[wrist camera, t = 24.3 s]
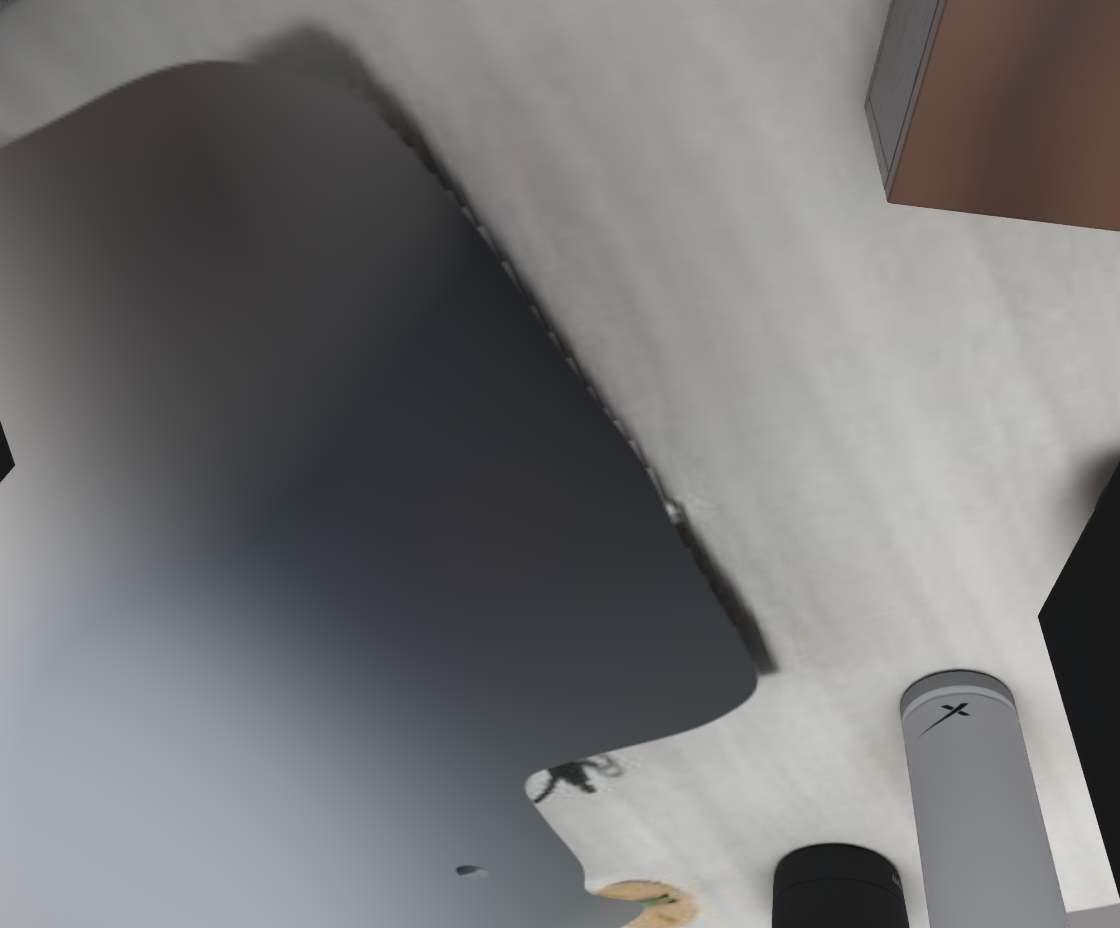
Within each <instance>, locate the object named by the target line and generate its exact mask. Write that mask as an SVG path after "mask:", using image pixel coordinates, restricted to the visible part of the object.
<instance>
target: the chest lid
mask: <svg viewBox="0 0 1120 928" xmlns="http://www.w3.org/2000/svg"><path fill="white" fill-rule="evenodd" d="M885 194H886V198H887V202H888V203H893V204H901V205H909V206H917V207H926V208H934V209H942V210H950V211H958V212H966V213H974V214H982V215H990V216H998V217H1006V218H1015V219H1023V220H1031V221H1039V222H1047V223H1055V224H1063V225H1071V226H1079V227H1087V228H1095V229H1104V230H1112V231H1120V0H939V3H938V7H937V10H936V14H935V17H934V21H933V24H932V27H931V31H930V34H929V38H928V41H927V45H926V48H925V52H924V55H923V59H922V62H921V66H920V69H919V73H918V76H917V80H916V83H915V87H914V90H913V94H912V97H911V101H910V104H909V108H908V111H907V115H906V118H905V122H904V125H903V129H902V132H901V136H900V139H899V143H898V146H897V150H896V153H895V157H894V160H893V164H892V167H891V171H890V174H889V178H888V181H887V185H886V188H885Z"/></svg>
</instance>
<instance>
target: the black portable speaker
mask: <svg viewBox="0 0 1120 928" xmlns="http://www.w3.org/2000/svg"><path fill="white" fill-rule="evenodd" d="M772 928H909V922H908V916H907V911H906V905H905V900H904V894H903V889H902V884H901V880H900V877H899V875H898V873H897V871H896V870H895V869H894V868H893V867H892V866H891V865H890V864H889V863H888V862H887V861H886V860H885V859H883V858H882V857H880V856H878V855H877V854H875V853H872V852H870V851H867V850H864V849H861V848H856V847H851V846H844V845H821V846H814V847H809V848H805V849H802V850H799V851H797V852H795V853H793V854H791V855H789V856H788V857H787V858H785V859H784V860H783V862H782V863H781V864H780V865H779V866H778V868H777V869H776V872H775V874H774V884H773V909H772Z"/></svg>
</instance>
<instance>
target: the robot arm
mask: <svg viewBox="0 0 1120 928" xmlns="http://www.w3.org/2000/svg"><path fill="white" fill-rule="evenodd" d="M7 1H9V0H0V6H1V5H3V4H4V3H6V2H7ZM14 466H15V463H14V460H13V457H12V455H11V452H10V449H9V446H8V443H7V440H6V437H5V434H4V431H3V428H2V425H1V422H0V482H1V481H2V480H3V479H4V478H5V476H6V475H7V474H8V473H9V472H10V470H11V469H12V468H13V467H14ZM1038 619H1039V622H1040V625H1041V629H1042V632H1043V636H1044V639H1045V643H1046V646H1047V650H1048V653H1049V656H1050V660H1051V663H1052V667H1053V670H1054V674H1055V677H1056V681H1057V684H1058V687H1059V691H1060V694H1061V698H1062V701H1063V705H1064V708H1065V712H1066V715H1067V718H1068V722H1069V725H1070V729H1071V732H1072V736H1073V739H1074V743H1075V746H1076V749H1077V753H1078V756H1079V760H1080V763H1081V767H1082V770H1083V774H1084V777H1085V780H1086V784H1087V787H1088V791H1089V794H1090V798H1091V801H1092V804H1093V808H1094V811H1095V815H1096V818H1097V822H1098V825H1099V829H1100V832H1101V835H1102V839H1103V842H1104V846H1105V849H1106V853H1107V856H1108V860H1109V863H1110V866H1111V870H1112V873H1113V877H1114V880H1115V884H1116V887H1117V891H1118V894H1119V897H1120V463H1119V465H1118V466H1117V468H1116V470H1115V472H1114V474H1113V476H1112V478H1111V480H1110V481H1109V483H1108V485H1107V487H1106V489H1105V491H1104V493H1103V495H1102V496H1101V498H1100V500H1099V502H1098V504H1097V506H1096V508H1095V510H1094V511H1093V513H1092V515H1091V517H1090V519H1089V521H1088V523H1087V525H1086V526H1085V528H1084V530H1083V532H1082V534H1081V536H1080V538H1079V540H1078V541H1077V543H1076V545H1075V547H1074V549H1073V551H1072V553H1071V555H1070V556H1069V558H1068V560H1067V562H1066V564H1065V566H1064V568H1063V570H1062V571H1061V573H1060V575H1059V577H1058V579H1057V581H1056V583H1055V585H1054V586H1053V588H1052V590H1051V592H1050V594H1049V596H1048V598H1047V600H1046V601H1045V603H1044V605H1043V607H1042V609H1041V611H1040V613H1039V615H1038Z"/></svg>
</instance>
